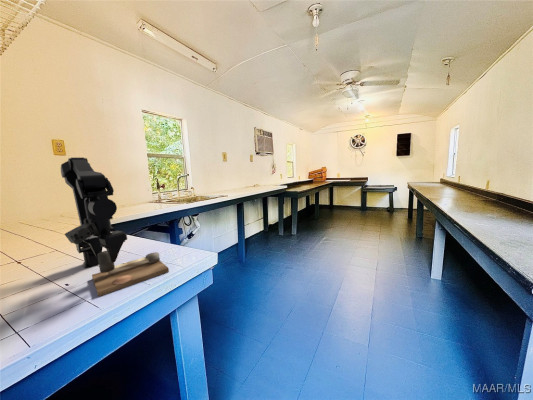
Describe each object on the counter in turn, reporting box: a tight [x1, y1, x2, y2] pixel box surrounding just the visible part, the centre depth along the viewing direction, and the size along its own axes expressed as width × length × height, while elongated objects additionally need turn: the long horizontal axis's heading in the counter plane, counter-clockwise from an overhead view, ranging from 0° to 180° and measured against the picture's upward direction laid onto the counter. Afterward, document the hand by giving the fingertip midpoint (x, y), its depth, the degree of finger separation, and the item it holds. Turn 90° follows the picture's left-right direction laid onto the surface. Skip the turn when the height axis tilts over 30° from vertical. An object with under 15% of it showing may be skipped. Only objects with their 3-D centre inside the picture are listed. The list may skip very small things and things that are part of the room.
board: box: [91, 260, 170, 297], centre depth 75 cm, size 15×20×2 cm
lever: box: [97, 250, 161, 274], centre depth 77 cm, size 18×4×8 cm, turn 134°
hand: (105, 259), depth 72 cm, fingers open, 9 cm apart
